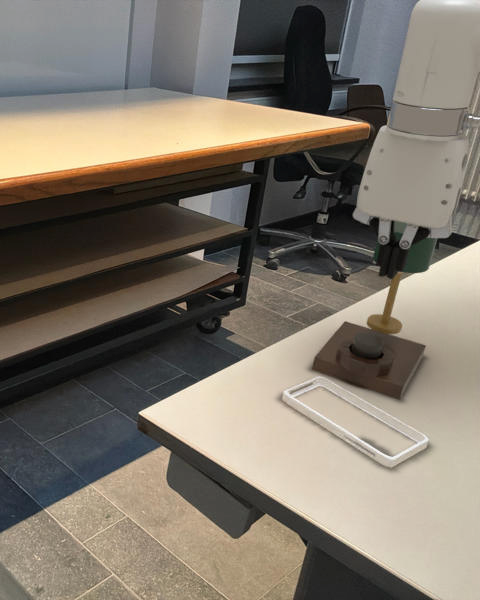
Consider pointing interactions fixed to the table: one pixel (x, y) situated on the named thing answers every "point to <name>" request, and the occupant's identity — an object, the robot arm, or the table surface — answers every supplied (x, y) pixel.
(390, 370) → the lamp base
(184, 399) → the table surface
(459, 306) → the table surface
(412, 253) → the lamp
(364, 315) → the table surface
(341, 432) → the phone case
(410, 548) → the table surface
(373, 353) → the lamp switch
